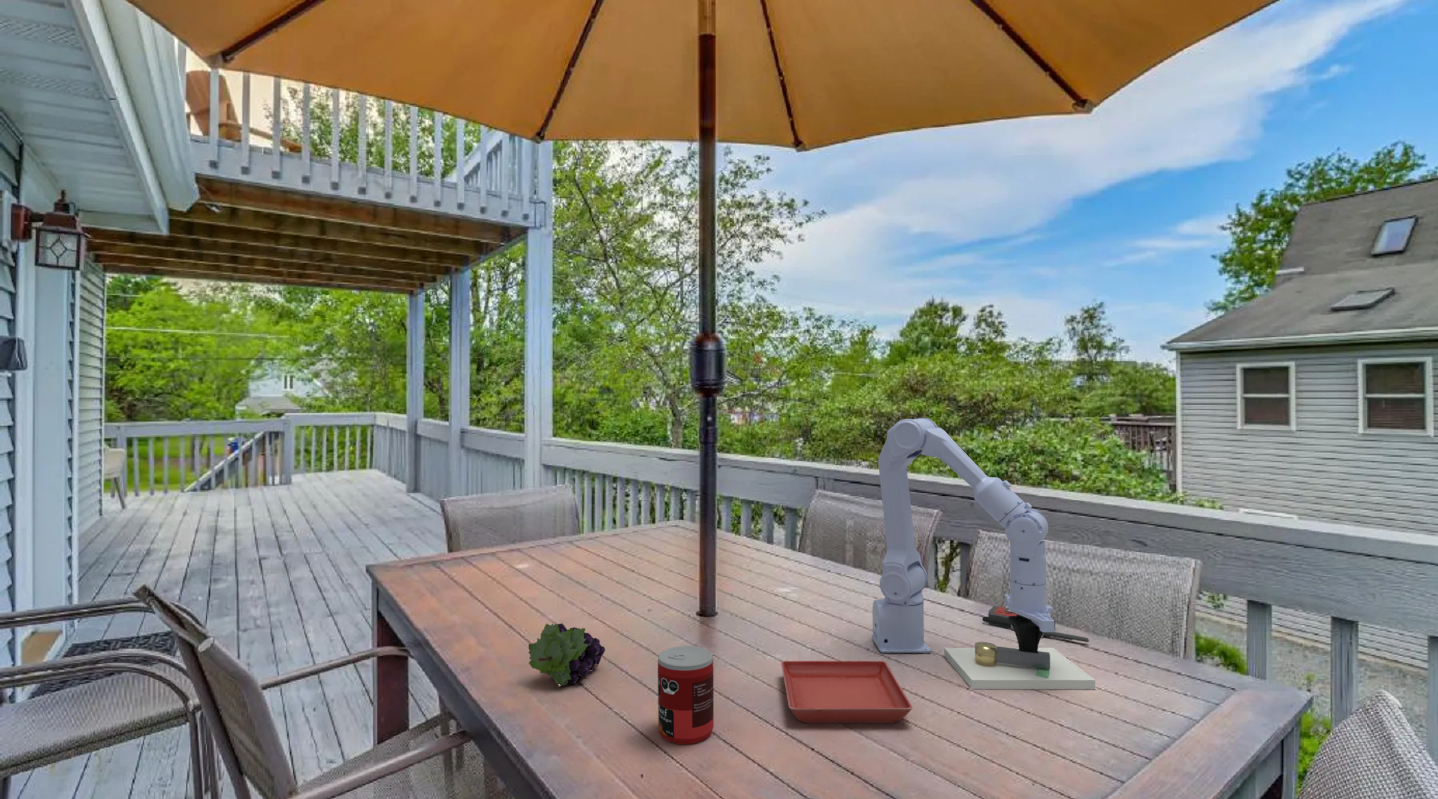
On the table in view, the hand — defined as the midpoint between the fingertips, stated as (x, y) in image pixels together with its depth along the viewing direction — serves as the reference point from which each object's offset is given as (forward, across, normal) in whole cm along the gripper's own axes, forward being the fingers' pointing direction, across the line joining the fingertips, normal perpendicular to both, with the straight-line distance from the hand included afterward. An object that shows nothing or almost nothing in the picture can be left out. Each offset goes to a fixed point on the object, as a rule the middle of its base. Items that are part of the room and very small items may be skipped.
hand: (1028, 659), depth 113 cm
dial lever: (+1, -1, +3) cm, 3 cm away
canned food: (+3, -20, +58) cm, 61 cm away
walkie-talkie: (+3, +22, -11) cm, 25 cm away
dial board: (+2, +1, +2) cm, 3 cm away
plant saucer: (+3, -10, +34) cm, 36 cm away
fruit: (+3, -2, +79) cm, 79 cm away
